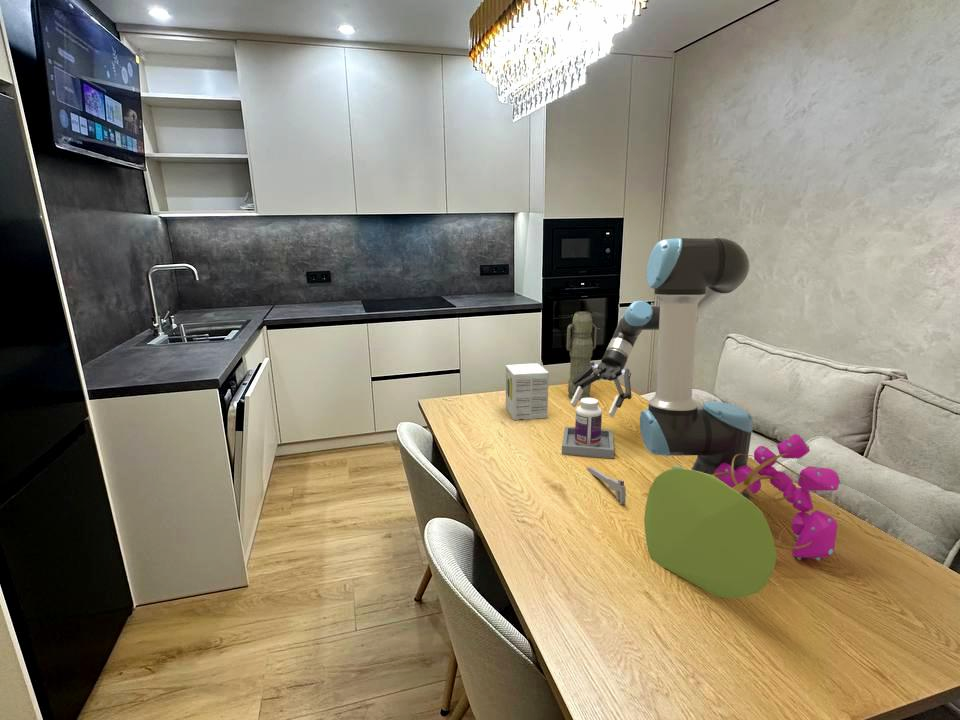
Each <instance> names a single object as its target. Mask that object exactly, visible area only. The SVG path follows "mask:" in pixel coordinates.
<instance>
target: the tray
mask: <svg viewBox="0 0 960 720" xmlns="http://www.w3.org/2000/svg"><path fill="white" fill-rule="evenodd" d="M562 436H563V437H562V444H561V455H568V456H578V457H579V456H580V457H589V458H591V457H592V458H593V457H594V458H602V459H603V458H604V459H614V458H615V457H614V454H615V449H614V446H615V445H614V435H613V430H612V429H604V428H603V429H602V428H601V441H600V444H599V445H597V446H595V447H592V446H580V445H578V444H577V443H576V442H575V427H573V426H564V430H563V435H562Z"/></svg>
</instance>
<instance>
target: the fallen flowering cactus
mask: <svg viewBox="0 0 960 720" xmlns="http://www.w3.org/2000/svg"><path fill="white" fill-rule="evenodd" d="M804 440H805V438H804V437H802V436H800V435H799V434H796V433H794V434H792V435H791V436H789V437H787V438H785V439H784V440H783V441H781V442H779V443H777V445H776V447H777V450H778V453H779V454H778V455H776V454H775V453H774V452H773V451H772V450H771V449H770V448H768V447H766V446H765V445H759V446H757V448H755V450H753V451H754V452H753V455H751V454H748V455H747V454H737V455H735V456H734V458H733V460H732V465H731V466H730V465H729V464H727V463H722V464H721V465H720V466H719V467H718V468H717V469H716V470H715V472H714V474H712V475H709V474H706V473H703V472H699V471H695V470H691V469H688V468H683V467H681V466H680V465H674V466H673V467H672V468H671V469H666V470H665V471H663V472H661V473H660V474H658V475H657V476H656V477H655V478H654V480H653V482H652V484H651V485H650V488H649V490H648V495H647V499H646V503H645V510H644V518H643V519H644V521H643V522H644V534H645V542H646V547H647V548H646V549H647V552H648V554H649V556H650V559H652V560H653V561H654V562H655V563H656V564H657V565H659V566H660V567H662V568H664V569H666V570H667V571H669V572H671V573H673V574H674V575H677V576H679V577H681V578H682V579H684V580H686V581H687V582H690V584H691V583H692V584H693V585H695V586H697V587H699V588H700V589H702V590H704V591H706V592H708V593H710V594H712V595H713V596H716V597H719V598H723V599H725V598H726V599H740V598H746V597H749V596H751V595H754V594H757V593H759V592H760V591H761V590H762V589H764V588H765V587H766V586H767V583H768V582H769V580H770V579H771V577H772V574H773V572H774V569H775V567H776V563H777V558H778V557H777V549H776V548H780V549H784V550H792V551H791V554H792V555H793V556H794V557H796V558H797V560H799V561H801V560H802V559H813V560H817V561H818V562H819V561H820V560H821V559H824V558H828V557H831V556H832V555H833V553H835V545H836V539H837V533H838V522H837V520H836V519H835V518H834V517H832V516H831V515H829V514H827V513H826V512H824V511H821V510H820V509H819V510H818V509H816V510H814V511H813V512H811V511H812V510H813V509H814V504H813V500H812V497H811V493H814V491H832V492H834V491H838V489H839V486H840V485H842V484H843V482H842V481H841V480H840V477H839V473H838V472H836V470H833V469H832V468H829V467H821V466H807V467H805V468H802V470H800V473H797V472H796V471H794V470H793V469H791V468H789V467H787V465H784V464H783V463H781V462H780V461H778V459H780V458H782V459H802V458H803V457H804V456H806V455H807V454H809V452H810V451H811V449H810V445H807V443H806V442H805V441H804ZM738 455H747V456H748V457H753V459H754V461H755V462H756V463H758V464H759V465H758V466H756V467H755V468H753V467H751V466H749V465H747V466H746V465H743V466H741V467H739V468H737V469H736V471H735V470H734V460H735V458H736V457H737V456H738ZM776 463H777V464H778V465H780V466H782V467H784V468H785V469H786V470H788V471H790V472H792V474H795V476H796V478H797V479H798V480H797V484H798V488H797V486H796V484H795V483H794V481H793V479H792V478H791V477H790V476H789V475H788V474H787V473H786V472H784V471H779V470H777V469H776V468H775V467H774V465H775V464H776ZM761 480H769V482H770V484H771V485H772V486H773V487H774V488H776V489H777V490H778V491H779V492H777V493H775V494H774V495H773V497H772V499H771V498H762V497H759V496H757V495H756V493H757V492H759V491H761V488H762V483H761ZM743 492H744V493H746V494H748V495H749V496H750V498H752V499H754V500H756V501H759V502H762V503H775V502H781V501H783V500H786V502H788V503H790V504H792V507H793V508H794V509H795V510H797V511H799V512H797V513H795V516H794V517H793V519H792V521H791V522H792V523H790V524H787V525H785V526H784V527H783V529H782V530H781V532H780V533H779V536H778V541H779V543H777V542H775V541H774V537H773V534H772V531H771V527H770V525H769V523H768V521H767V519H766V517H765V515H764V513H763V511H762V510H761V509H760V508H759V507H758V506H757V505H755V503H754V502H753V501H751V500H750V499H749V500H748V499H747V498H745V497H744V496H743ZM780 493H783V494H782V496H783V497H781V498H775V497H776V495H778V494H780ZM808 512H811V513H808ZM789 526H791V528H792V533H793V534H794V535H796V536H795V537H796V539H797V540H796V542H795V544H794V546H791V545H784V544H783V542H782V536H783V533H784V530H785V529H786V528H788V527H789Z"/></svg>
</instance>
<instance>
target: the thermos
mask: <svg viewBox="0 0 960 720" xmlns="http://www.w3.org/2000/svg"><path fill="white" fill-rule="evenodd" d="M597 331H598V328H597V326H596V324H594V323H593V318H592V313H590V311H582V310H581V311H576V312H575V313H574V315H573V318H572V323H571V324H568V326H567V328H566V350H567V351H568V352H569V356H570V366H569V367H570V368H569V369H570V370H569V378H568V385H567V391H568V395H567V398H568V399H570V400H572V398H573V392H574V390H575V385H574V384H573V383H572V381H573V380H574V379H575V378H576V377H578V376H579V375H580V374H581V373H582V372H583V371H584V370H585V369H587V368H588V367H589V365H590V363H591V362H592V361H591V360H592V357H593V351H594V350H595V349H596V348H597ZM571 333H572V334H571ZM591 386H592V383H591V384H589V385H588V386H586V387H584V388H582V390H583V392H582V394H581V396H580V398H579V401H578V402H580V400H581V399H582V398H591V395H590V394H591V390H592V389H591Z"/></svg>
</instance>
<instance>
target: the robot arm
mask: <svg viewBox="0 0 960 720" xmlns="http://www.w3.org/2000/svg"><path fill="white" fill-rule="evenodd" d="M749 271H750V260H749V256H748V254H747V252H746V251H745V249H744V248H743V247H742V246H741V245H739V244H738V243H737V242H735V241H733V240H732V239H728V238H722V237H717V238H716V237H715V238H710V237H709V238H702V237H701V238H697V237H695V238H694V237H692V238H687V237H684V238H683V237H680V238H679V237H676V238H667V239H662V240H659V241H658V242H657V243H656V244H655V245H654V247H653V249H652V251H651V252H650V255H649V258H648V263H647V267H646V283H647V285H648V287H649V288H651V289H654V290H653V291H654V292H653V293H654V294H653V295H654V297H656V299H658V301H659V303H660V304H659V305H651V304H649V303H648V302H645V301H644V300H636V301H634V302H632V303H631V304H630V305H629V306H628V307H627V308H626V310H625V312H624V314H623V315H622V317H621V318H620V320H619V321H618V324H617V326H616V328H615V331H614V333H613V335H612V338H611V339H610V342H609V343H608V346H607V348H606V350H605V352H604V354H603V356H602V358H601V361H600V363H599V364H597V363H595V362H594V361H591V363H590V365H589V367H588V368H587V369H585V370H584V371H583V372H582V373H581V374H580V375H579V376H578V377H576V378H575V379H574V380H573V381H572V383H573V384H574V385H575V390H574V392H573V398H572V399H570V400H571V401H570V405H571V406H572V407H573V408H577V407H576V406H577V405H578V403H579V402H580V401H579V398H580V396H581V394H582V392H583V390H582V388H584V387H586V386H588V385H589V384H591V385H592V383H595V382H596V381H599V380H601V379H602V380H605V381H606V380H607V381H610V382H612V381H613V382H614V384H615V387H616V389H617V391H618V394H619V395H617V394H616V395H615V397H614V399H613V402H612V404H611V406H610V408H609V411H608V415H609V416H610V418H614V417H615V414H616V413H617V411H618V409H620V408H621V407H622V405H623V403H624V400H626V399H628V400H631V399H632V397H633V396H632V388H631V375H632V373H631V370H630V369H629V368H626V369H625V366H626V364H627V361H628V359H629V357H630V355H631V352H632V351H633V348H634V346H635V344H636V341H637V340H638V338H639V336H640V334H641V333H642V332H643V331H651V330H652V331H655V330H656V331H657V330H658V340H657V342H658V343H657V356H656V357H657V358H656V360H657V361H656V381H655V394H654V397H652V398H651V399H649V401H648V408H645V409H643V410H641V412H640V415H639V429H640V434H641V438H642V441H643V445H644V446H645V448H646V449H647V451H648V452H649V453H650V454H652V455H654V456H665V457H670V456H671V457H673V456H675V457H676V456H697V457H696V459H695V461H694V463H693V465H692V467H691V469H690V470H695V471H699V472H703V473H706V474H709V475H712V474H714V472H715V470H716V469H717V468H718V467H719V466H720V465H721V464H722V463H727V464H729V465H730V466H731V465H732V460H733V458H734V456H735V455H737V454H747V455H749V451H750V446H751V440H752V433H753V432H754V431H753V424H754V423H753V416H752V415H751V413H750V412H749V411H748V410H746V409H744V408H742V407H740V406H737V405H734V404H731V403H728V402H723V401H715V400H713V401H712V400H711V401H709V400H708V401H705V402H704V403H703V405H702V406H701V409H699V406H698V403H696V401H695V400H694V399H693V398H692V396H693V382H694V368H695V351H696V338H697V337H696V336H697V323H698V320H699V318H698V317H699V315H700V314H701V313H702V312H704V311H705V310H706V309H707V308H708V307H709V306H711V305H712V304H713V303H714V302H715V301H717V300H718V299H719V298H721V297H722V296H723V295H726V294H730V293H732V292H734V291H736V289H738V288H739V287H740V286H741V285H742V284H743V283H744V282H745V280H746V278H747V277H748V274H749ZM621 375H622V376H623V381H624V390H623V388H622V386H621V383H620V380H619V377H620V376H621ZM624 391H625V392H624ZM747 455H738V456H737V457H736V458H735V460H734V470H735V471H736V469H737V468H739V467H741V466H743V465H746V466H748V459H749V456H747ZM743 496H744V497H745V498H747V499H748V500H750V498H751V496H749V495H748V494H746V493H744V492H743Z"/></svg>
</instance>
